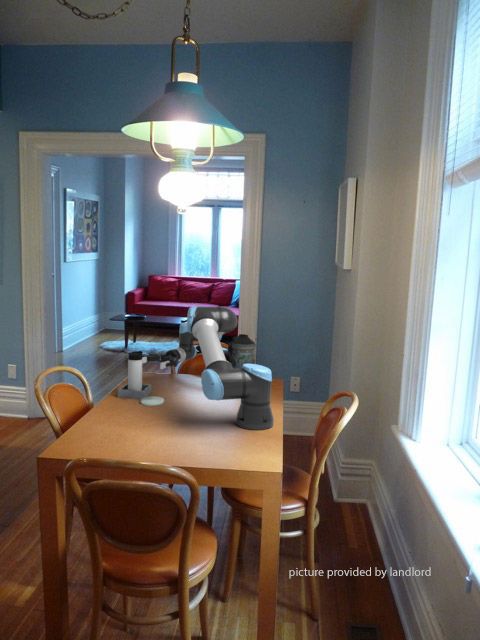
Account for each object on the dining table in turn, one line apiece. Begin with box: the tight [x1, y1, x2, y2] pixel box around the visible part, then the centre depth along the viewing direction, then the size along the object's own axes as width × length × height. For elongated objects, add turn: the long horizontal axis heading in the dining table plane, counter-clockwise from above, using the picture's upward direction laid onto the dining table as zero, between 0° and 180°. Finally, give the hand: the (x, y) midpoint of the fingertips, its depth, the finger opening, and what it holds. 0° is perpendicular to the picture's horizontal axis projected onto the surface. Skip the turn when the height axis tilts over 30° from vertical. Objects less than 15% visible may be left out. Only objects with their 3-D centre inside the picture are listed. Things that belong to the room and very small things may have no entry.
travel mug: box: [127, 350, 144, 391], centre depth 228 cm, size 6×7×20 cm
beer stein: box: [227, 333, 257, 369], centre depth 256 cm, size 16×19×25 cm
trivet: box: [140, 395, 165, 407], centre depth 219 cm, size 10×10×1 cm
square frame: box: [117, 382, 153, 400], centre depth 229 cm, size 12×12×4 cm
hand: (148, 364), depth 236 cm, fingers open, 13 cm apart
